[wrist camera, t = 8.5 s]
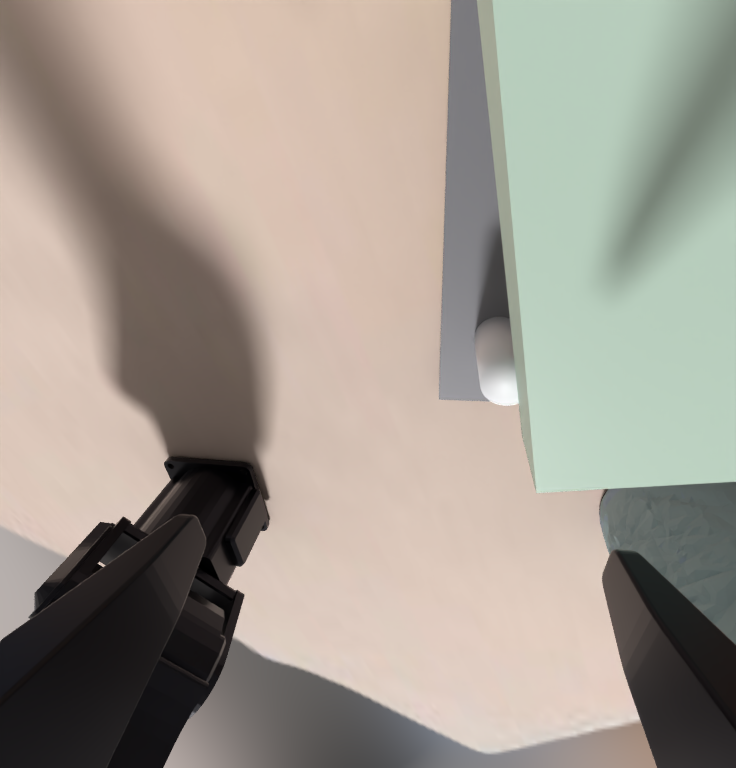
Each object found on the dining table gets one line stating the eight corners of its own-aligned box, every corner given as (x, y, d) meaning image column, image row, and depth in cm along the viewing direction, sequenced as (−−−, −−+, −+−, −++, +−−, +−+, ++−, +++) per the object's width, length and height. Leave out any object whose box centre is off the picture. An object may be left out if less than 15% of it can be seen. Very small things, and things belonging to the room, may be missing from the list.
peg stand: (439, 389, 21) (436, 451, 16) (461, -315, 10) (471, -655, 6) (625, 395, 19) (675, 466, 15) (901, -444, 8) (1384, -1068, 4)
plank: (522, 435, 15) (536, 493, 13) (439, -359, 7) (434, -649, 4) (703, 417, 14) (761, 480, 11) (893, -672, 5) (1320, -1455, 3)
